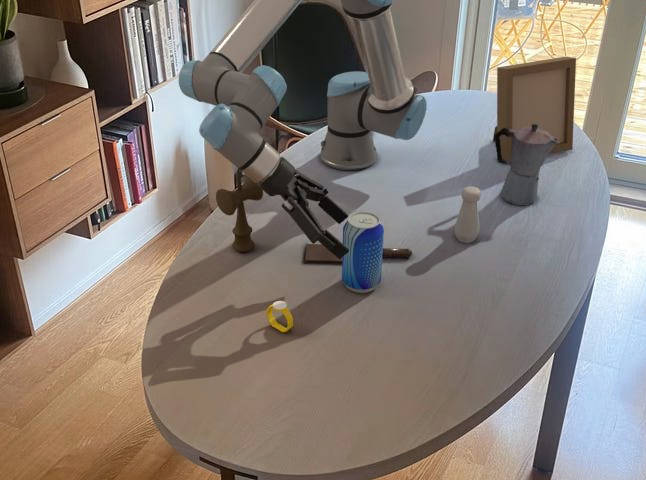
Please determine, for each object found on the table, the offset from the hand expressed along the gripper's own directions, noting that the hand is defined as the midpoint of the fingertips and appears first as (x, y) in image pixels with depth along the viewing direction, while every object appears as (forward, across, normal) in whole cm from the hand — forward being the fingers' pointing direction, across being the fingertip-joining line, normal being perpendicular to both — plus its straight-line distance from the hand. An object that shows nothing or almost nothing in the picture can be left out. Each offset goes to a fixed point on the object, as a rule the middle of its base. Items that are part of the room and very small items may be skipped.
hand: (344, 236), depth 170 cm
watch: (0, +16, -18) cm, 24 cm away
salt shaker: (+29, -19, +12) cm, 37 cm away
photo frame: (+45, -67, +28) cm, 85 cm away
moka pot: (+40, -39, +23) cm, 60 cm away
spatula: (+11, -11, -6) cm, 17 cm away
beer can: (+11, 0, -6) cm, 13 cm away
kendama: (-8, -14, -25) cm, 29 cm away
